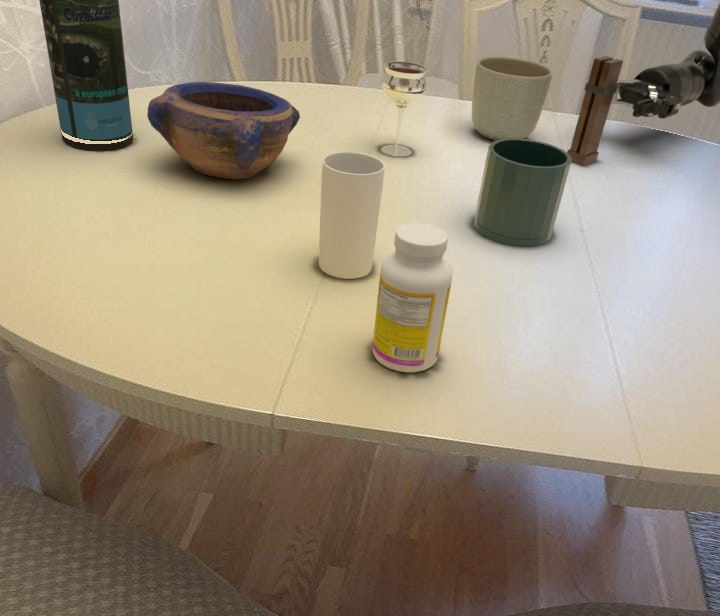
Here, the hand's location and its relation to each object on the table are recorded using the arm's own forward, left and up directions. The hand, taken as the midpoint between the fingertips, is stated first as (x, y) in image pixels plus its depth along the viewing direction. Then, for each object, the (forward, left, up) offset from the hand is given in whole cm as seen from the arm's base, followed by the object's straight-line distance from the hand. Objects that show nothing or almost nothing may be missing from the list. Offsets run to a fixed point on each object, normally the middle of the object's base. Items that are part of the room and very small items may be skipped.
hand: (613, 102), depth 122 cm
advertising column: (+80, +13, -8) cm, 81 cm away
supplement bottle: (+38, +67, -8) cm, 77 cm away
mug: (+43, +47, -8) cm, 64 cm away
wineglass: (+35, +7, -8) cm, 36 cm away
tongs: (+4, +4, -8) cm, 10 cm away
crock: (+21, +34, -8) cm, 40 cm away
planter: (+16, -5, -8) cm, 19 cm away
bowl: (+60, +20, -8) cm, 64 cm away
